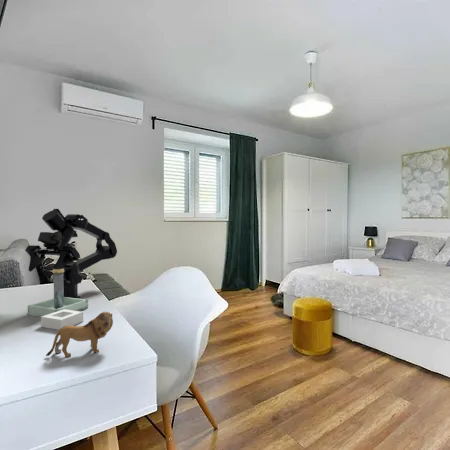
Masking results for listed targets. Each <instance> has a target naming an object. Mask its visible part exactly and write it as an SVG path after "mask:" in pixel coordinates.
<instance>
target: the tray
mask: <svg viewBox="0 0 450 450" xmlns="http://www.w3.org/2000/svg"><path fill="white" fill-rule="evenodd" d="M88 308H89V299H84V298H69V297H64V307H62V308H58V309H54V298H51V299H47V300H44V301H41V302H40V301H39V302H37V303H32V304H29V305H27V316H33V317H40V318H41V317H42V316H45V315H48V314H51V313H54V312H57V311H60V310H63V309H66V310H73V311H80V312H82V311H83V310H86V309H88Z"/></svg>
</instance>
